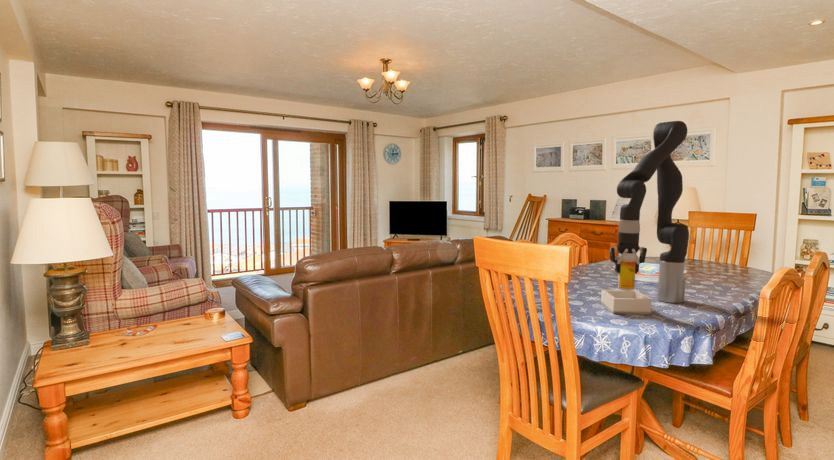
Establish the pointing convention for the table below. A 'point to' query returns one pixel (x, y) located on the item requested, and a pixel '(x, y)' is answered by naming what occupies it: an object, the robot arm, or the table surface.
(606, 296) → the box
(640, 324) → the table surface
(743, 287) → the table surface
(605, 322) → the table surface
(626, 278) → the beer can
